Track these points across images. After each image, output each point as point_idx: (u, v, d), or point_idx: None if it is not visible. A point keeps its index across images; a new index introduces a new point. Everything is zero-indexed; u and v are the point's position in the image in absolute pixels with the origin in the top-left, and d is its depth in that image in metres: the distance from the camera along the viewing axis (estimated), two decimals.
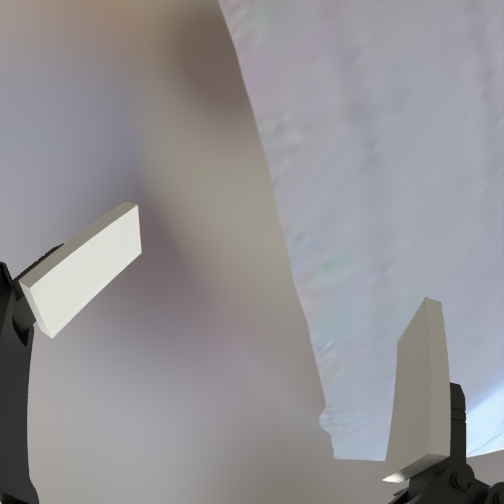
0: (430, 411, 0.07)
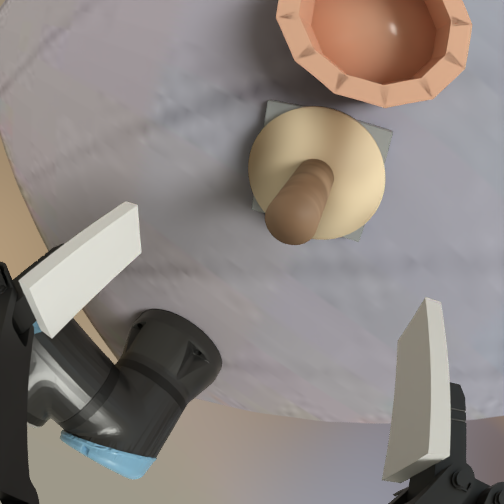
0: (430, 411, 0.07)
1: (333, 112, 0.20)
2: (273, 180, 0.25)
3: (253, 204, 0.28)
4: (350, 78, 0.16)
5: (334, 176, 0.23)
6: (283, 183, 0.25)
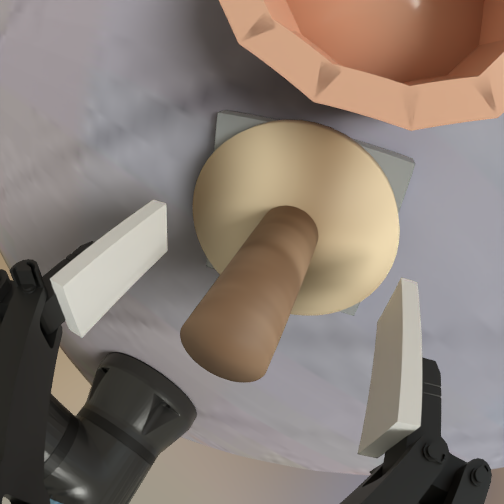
0: (400, 381, 0.08)
1: (317, 131, 0.13)
2: (228, 234, 0.17)
3: (208, 260, 0.20)
4: (344, 72, 0.08)
5: (319, 233, 0.15)
6: (243, 239, 0.17)
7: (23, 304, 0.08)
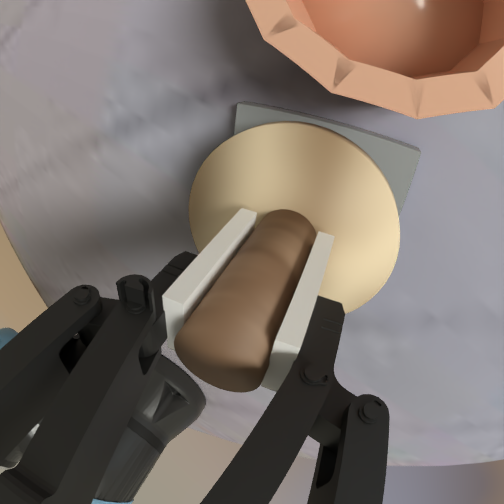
0: (288, 308, 0.10)
1: (316, 133, 0.12)
2: None
3: None
4: (358, 66, 0.09)
5: None
6: None
7: (124, 325, 0.08)
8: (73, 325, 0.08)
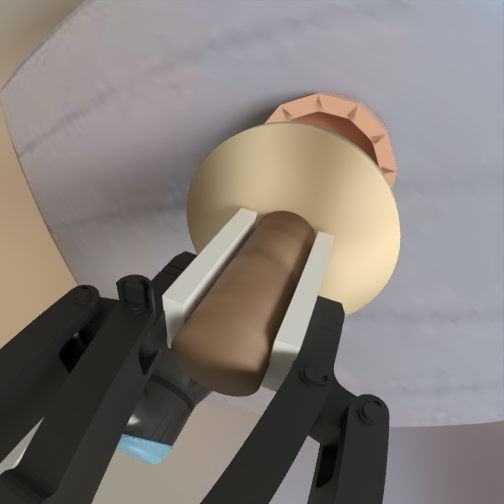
0: (288, 308, 0.10)
1: (315, 133, 0.12)
2: None
3: None
4: None
5: None
6: None
7: (124, 325, 0.08)
8: (73, 325, 0.08)
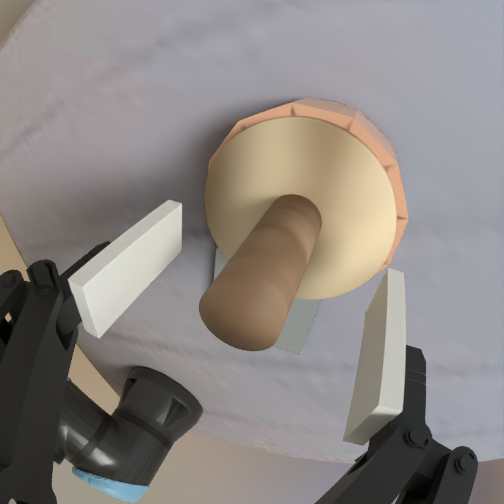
0: (382, 366, 0.08)
1: (321, 126, 0.14)
2: (238, 222, 0.18)
3: None
4: None
5: (322, 219, 0.16)
6: (251, 226, 0.18)
7: (39, 305, 0.08)
8: (5, 303, 0.08)
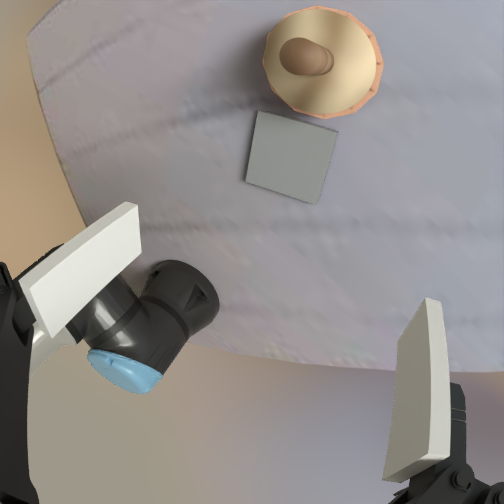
0: (430, 411, 0.07)
1: (332, 12, 0.22)
2: None
3: (246, 178, 0.41)
4: None
5: (334, 59, 0.25)
6: None
7: None
8: None
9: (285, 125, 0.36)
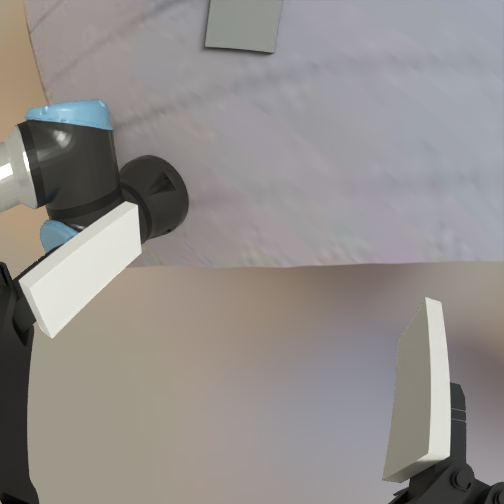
0: (430, 411, 0.07)
1: None
2: None
3: (205, 43, 0.37)
4: None
5: None
6: None
7: None
8: None
9: None
